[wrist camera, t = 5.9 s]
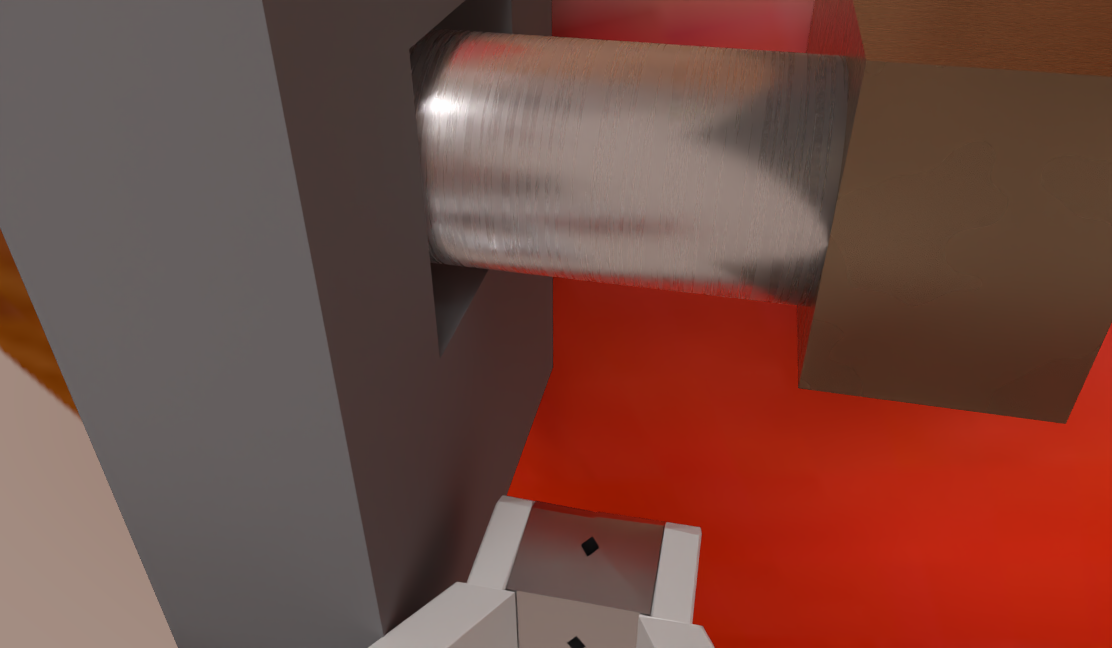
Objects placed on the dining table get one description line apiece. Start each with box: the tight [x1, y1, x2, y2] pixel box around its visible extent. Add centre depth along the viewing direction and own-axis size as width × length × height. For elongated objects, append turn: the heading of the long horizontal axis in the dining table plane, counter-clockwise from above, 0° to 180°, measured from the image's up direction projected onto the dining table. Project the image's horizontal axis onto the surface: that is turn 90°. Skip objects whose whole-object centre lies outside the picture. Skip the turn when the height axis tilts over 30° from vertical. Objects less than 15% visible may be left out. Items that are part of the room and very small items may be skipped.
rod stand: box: [409, 0, 1112, 424], centre depth 14 cm, size 21×4×9 cm, turn 89°
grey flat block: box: [0, 0, 553, 648], centre depth 12 cm, size 3×14×9 cm, turn 179°
